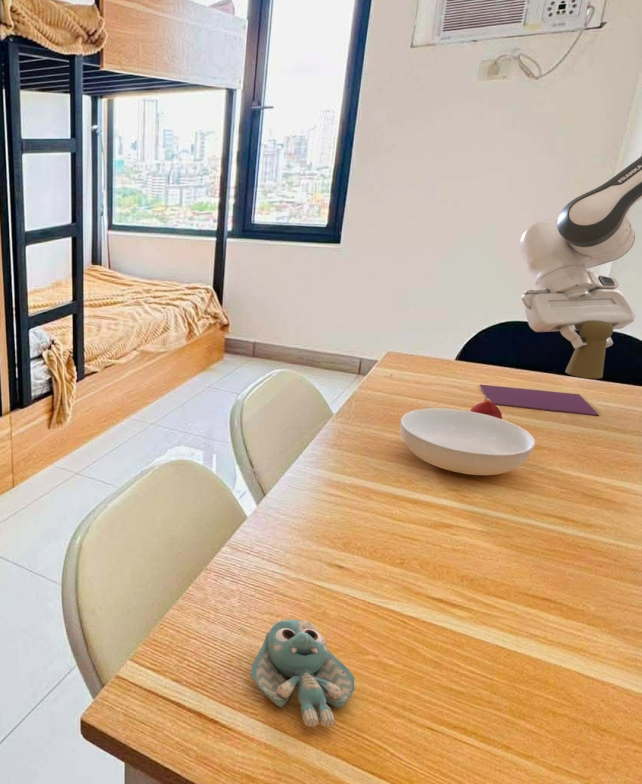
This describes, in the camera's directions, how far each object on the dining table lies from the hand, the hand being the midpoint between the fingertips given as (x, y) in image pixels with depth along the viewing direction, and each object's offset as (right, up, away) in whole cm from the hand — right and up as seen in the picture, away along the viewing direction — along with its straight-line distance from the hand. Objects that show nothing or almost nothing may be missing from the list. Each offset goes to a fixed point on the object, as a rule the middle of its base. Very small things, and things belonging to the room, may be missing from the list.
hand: (594, 346), depth 126 cm
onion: (-21, -18, +2) cm, 28 cm away
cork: (0, -6, +3) cm, 6 cm away
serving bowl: (-33, -22, -9) cm, 41 cm away
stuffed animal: (-82, -41, -59) cm, 109 cm away
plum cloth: (+4, -11, +20) cm, 23 cm away
